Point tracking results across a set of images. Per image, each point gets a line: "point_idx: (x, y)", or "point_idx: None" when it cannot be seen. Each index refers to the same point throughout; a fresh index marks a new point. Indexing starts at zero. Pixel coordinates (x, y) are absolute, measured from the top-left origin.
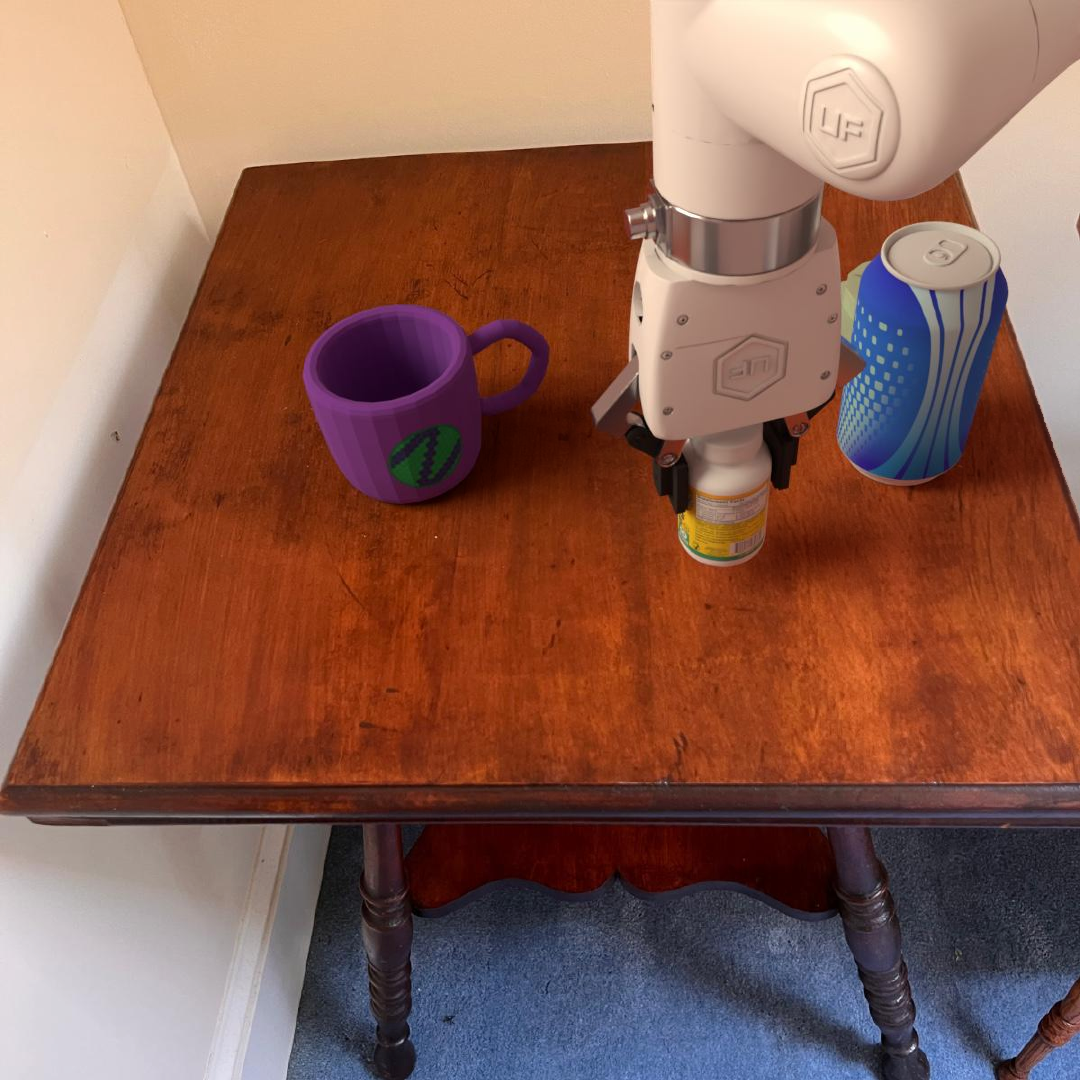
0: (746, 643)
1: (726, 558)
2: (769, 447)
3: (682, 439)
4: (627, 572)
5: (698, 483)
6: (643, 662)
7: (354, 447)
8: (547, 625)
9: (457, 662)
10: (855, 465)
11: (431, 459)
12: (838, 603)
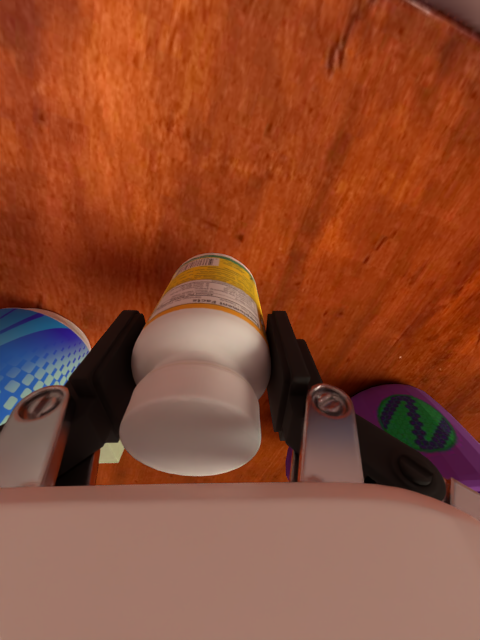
0: (220, 181)
1: (222, 257)
2: (131, 373)
3: (398, 498)
4: (290, 292)
5: (259, 342)
6: (321, 191)
7: (478, 443)
8: (375, 260)
9: (462, 246)
10: (82, 336)
11: (411, 417)
12: (119, 202)
